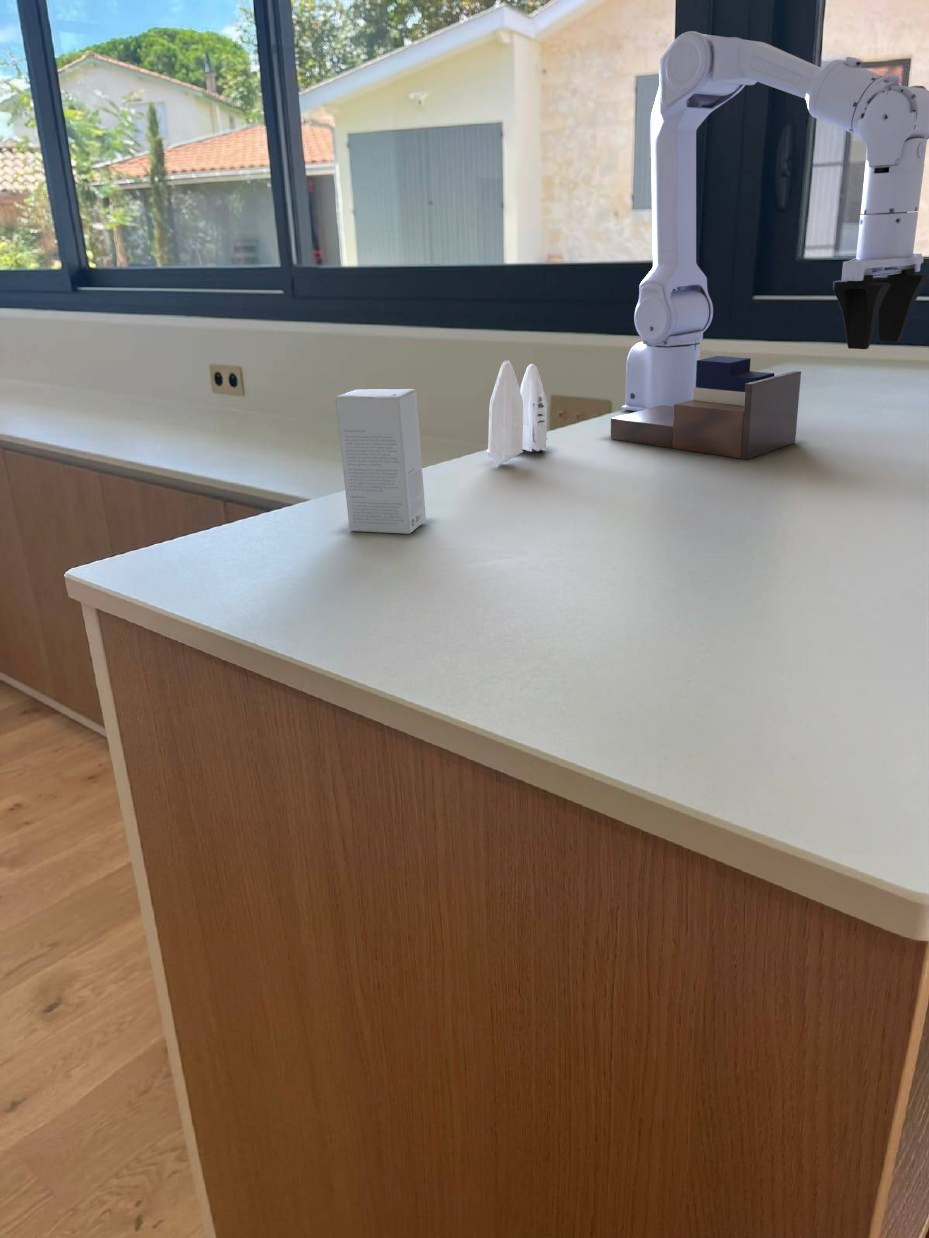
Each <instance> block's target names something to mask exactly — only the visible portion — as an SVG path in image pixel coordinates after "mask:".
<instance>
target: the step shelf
mask: <svg viewBox="0 0 929 1238" xmlns="http://www.w3.org/2000/svg"><path fill="white" fill-rule="evenodd" d="M801 377H802V371H800V370H794V371H793V370H792V371H790V372H785V373H782V374H778V375H774V377H770V378H766V379H762V380H758V381H754V382H750V383H746V387H745V403H744V406H739V405H730V404H721V403H711V402H702V401H693V400H689V401H685V402H681V403H677V404H674V407H671V406H662V405H661V406H657V407H653V408H649V409H645V410H641V411H633V412H630V413H625V414H621V415H617V416H615V417H611V418H610V439H611V440H616V441H624V442H630V443H637V444H643V445H648V446H649V445H650V446H656V447H663V448H668V449H675V450H683V451H689V452H695V453H701V454H707V455H708V454H709V455H715V456H722V457H727V458H736V459H742V460H749V459H752V458H755V457H758V456H760V455H761V456H762V455H765V454H767V453H769V452H772V451H776V450H779V449H781V448H784V447H787V446H790V445H793V444H795V443H796V438H797V426H798V415H799V403H800V390H801Z"/></svg>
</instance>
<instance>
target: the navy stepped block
mask: <svg viewBox="0 0 929 1238" xmlns="http://www.w3.org/2000/svg"><path fill="white" fill-rule="evenodd" d="M751 360H752V359H751V358H750V357H738V356H736V357H735V356H721V355H716V356H710V357H706V358H702V359H701V358H700V360H697V367H696V387H694V388H693V401H702V402H711V403H721V404H730V405H739V406H744V403H745V387H746V383H750V382H754V381H758V380H762V379H766V378H770V377H774V376H775V373H774V372H765V371H751V362H752V361H751Z"/></svg>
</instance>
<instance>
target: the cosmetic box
mask: <svg viewBox="0 0 929 1238" xmlns="http://www.w3.org/2000/svg"><path fill="white" fill-rule="evenodd" d="M334 401H335V408H336V409H335V410H336V416H337V426H338V434H339V445H340V453H341V461H342V470H343V480H344V491H345V497H346V498H345V500H346V509H347V510H346V511H347V518H348V526H349V527H348V528H349V531H350V532H365V533H386V534H387V533H388V534H411V533H412V532H414V531H415V530H416V529H418V528H419V527H420V526H421V525H423V524H424V523H425V522H426V521H427V515H426V501H425V488H424V476H423V475H424V474H423V464H422V450H421V437H420V436H421V435H420V426H419V425H420V424H419V413H418V400H417V390H416V388H402V389H401V388H400V389H399V388H397V389H396V388H394V389H393V388H391V389H390V388H389V389H385V388H383V389H380V388H377V389H375V388H372V389H368V388H367V389H364V388H363V389H361V388H360V389H353V390H350V391H347V392H346V393H343V394H339V395H336V396H335V398H334Z"/></svg>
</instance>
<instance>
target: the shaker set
mask: <svg viewBox="0 0 929 1238" xmlns="http://www.w3.org/2000/svg"><path fill="white" fill-rule="evenodd" d="M521 381H522V382H521V384H520V386H519V382H518V379H517V376H516V373H515V370H514V366H513V365H512V363H511V361H510V360H504V361H502V363H501V366H500V368H499V372H498V374H497V378H496V380H495V384H494V386H493V390H492V394H491V397H490V400H489V404H488V405H489V407H488V409H489V410H488V432H487V433H488V434H487V435H488V441H487V443H488V444H487V450H486V455H487V456H488V457H489V458H490V459H491V460H492V461H493V462H494V463H495V464H496V465H497V466H501V465H502V464H504V463H506V462H508V461H509V460H511V459H513V458H515V457H517V456H519V455H520V454H522V453H523V452H524V450H525V451H527V452H534V451H535V452H540V451H547V440H548V438H547V433H548V400H547V397H546V393H545V388H544V385H543V382H542V378H541V375H540V372H539V370H538V368H537V366H536V364H535V363H529V364H528V365H527V367H526V369H525V372H524V375H523V378H522V380H521Z"/></svg>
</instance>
